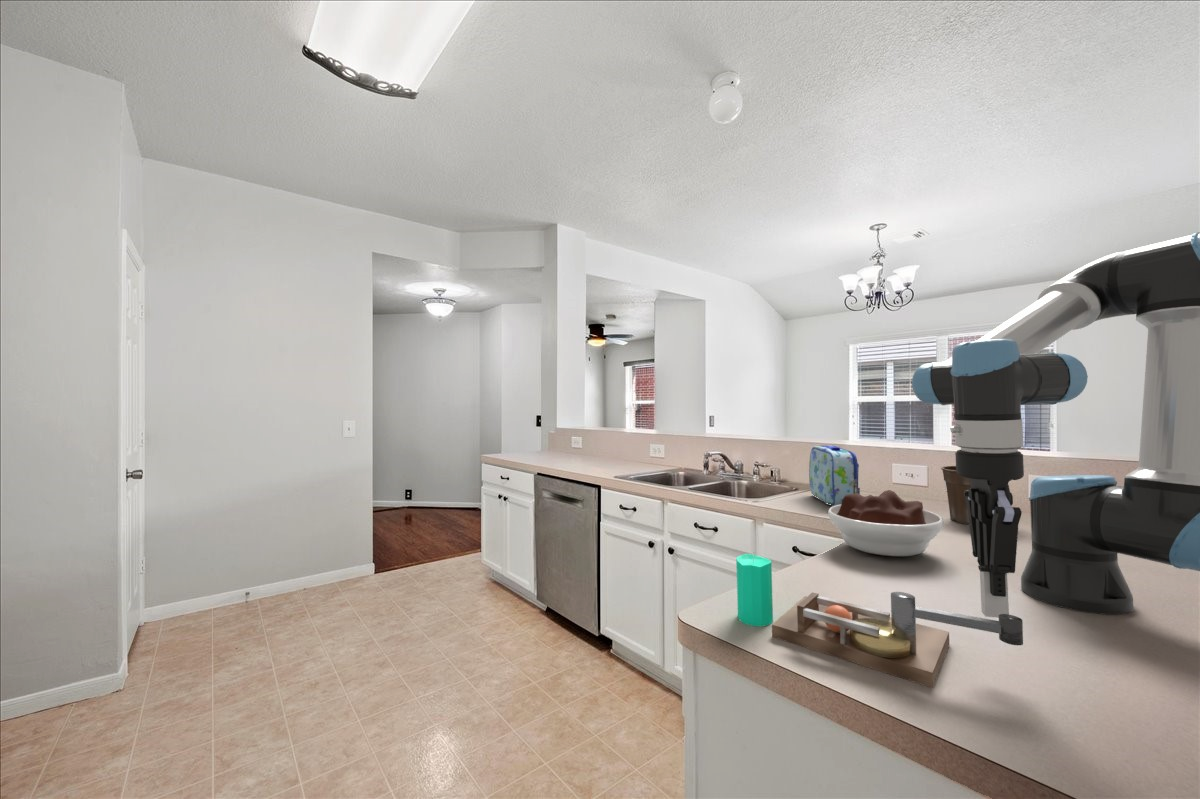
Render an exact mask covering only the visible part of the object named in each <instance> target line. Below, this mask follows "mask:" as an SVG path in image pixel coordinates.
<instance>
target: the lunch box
mask: <svg viewBox="0 0 1200 799" xmlns="http://www.w3.org/2000/svg"><path fill="white" fill-rule="evenodd" d="M808 463H809V465H808V466H809V469H808V472H809V473H808V474H809V475H808V476H809V482H808V483H809V489H810V492H811V495H812V494H813V495H814V496H816V497H818V498H819V499H818V498H817V499H818V500H820V499H821V500H823V501H824V502H825V503H824V502H823V501H822V502H823V503H824V504H826V503H828V504H831V505H834V506H835V505H840V504H842V499H843V498H844V496H845V495H849V494H854V493H858V494H860V495H861V491H860V490H861V487H859V468H860V465H859V463H858V458H857V455H856V453H855V452H853V451H851V450H847V449H846V448H845V449H844V448H843V447H839V446H836V445H827V444H826V445H814V446H812V448H811V451H810V454H809V462H808ZM813 495H812V496H813ZM814 496H813V497H814ZM816 497H815V498H816ZM821 500H820V501H821ZM828 504H827V505H828Z"/></svg>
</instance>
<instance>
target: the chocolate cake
mask: <svg viewBox="0 0 1200 799" xmlns="http://www.w3.org/2000/svg"><path fill="white" fill-rule="evenodd" d="M827 516H828V518H829V520H830V522H831V523H832V525H833V526H834V527H835V528H836V529H837V530H838V531H839V532H840V536H841V537H842V539H843V541H844V543H846V544H847V545H848V546H850V547H851V548H853V549H856V550H858V551H861V552H864V553H868V554H874V555H877V556H885V557H886V556H888V557H911V556H917V555H920V554H922V553H924V552H925V551H926V550H927V548H928V546H929V544H930V542H931V541H932V540H933V539H934V538H935V537H936V536H938V535H939V533H941V531H942V529H943V527H944V524H945V523H944V520H943V518H942V516H940V515H939V514H937V513H935V512H932V511H930V510H925V509H924V506H923V501H922V502H921V501H919V500H910V501H906V500H904V499H902V498H901V497H900V496H899V495H898V494H897V493H896V492H895V491H893V490H890V489H888V490H885V491H883V492H881V493H880V494H879V495H872V494H868V495H867V496H863V495H862V494H861V493H860V494H858V493H854V494H849V495H845V496H844V498H843V499H842V504H840V505H835V506H831V507H830V508H828V510H827Z"/></svg>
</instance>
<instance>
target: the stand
mask: <svg viewBox="0 0 1200 799" xmlns="http://www.w3.org/2000/svg"><path fill="white" fill-rule="evenodd" d="M832 605H839V606H842V607H844V608H845V609H846V610H847V611H848V612H849V613H850V615H851V618H852V620H849V619H845V618H842V617H838V616H834V615H830V614H827V613H825V610H826V609H827V608H828V607H830V606H832ZM861 618H873V619H879V620H883V621H887V622H891V613H890V612H886V611H882V610H879V609H875V608H871V607H866V606H863V605H862V606H861V605H859V604H854V603H849V602H846V601H841V600H838V599H833V598H830V597H825V596H820V595H819V593H817V592H813V591H812V592H811V593H809V594H808V595H807V596H806V595H805V596H803V597H802V598H801V599H800V600H799V601H797V602H796V603H795V604H794V605H793V606H791V607H790V609H788V610H787V611H786V612H784V614H782V615H781V616H780V617H779V618H777V619H776V620H775V621H773V622H772V623H771V637H772V638H775V639H778V640H781V641H784V642H788V643H790V644H791V643H792V644H794V645H797V646H800V647H804V648H806V649H809V650H813V651H816V652H819V653H822V654H826V655H829V656H831V657H834V658H838V659H841V660H845V661H846V662H850V663H854V664H857V665H859V666H862V667H866V668H870V669H873V670H876V671H879V672H882V673H884V674H885V673H886V674H888V675H892V676H895V677H898V678H901V679H903V680H907V681H911V682H913V683H917V684H920V685H924V686H926V687H930V688H931V689H932V688H934V687H935V683H936V681H937V678H938V676H939V673H940V671H941V668H942V666H943V663H944V660H945V657H946V656H947V652H948V649H949V647H950V631H948V630H944V629H940V628H937V627H931V626H928V625H923V624H919V623H916V651H917V652H916V653H915V654H910V655H909V656H906V657H902V658H888V657H882V656H877V655H873V654H870V653H867V652H865V651H863V650H861V649H859V648H857V647H856V646H855V645H854V644H853V643H852V642H851V640H850V629H851V630H854V631H858V632H862V633H865V634H869V635H873V636H876V637H878V636H879V635H880V627H876V626H872V625H868V624H864V623H861V622H857V621H853V620H856V619H861ZM826 623H829V624H833V625H836V626H840V633H837V632H834V631H832V630H831V629H829V628H828V626H827V625H826ZM846 628H847V629H849V630H848V631H846Z"/></svg>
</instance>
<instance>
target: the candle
mask: <svg viewBox="0 0 1200 799" xmlns="http://www.w3.org/2000/svg"><path fill="white" fill-rule="evenodd" d="M735 561H736V562H735V564H736V590H737V591H736V594H737V602H736V603H737V618H738V621H740V622H742V623H743V624H744V625H748V626H751V627H765V626H770V625H772V624H773V623H774V616H773V615H774V609H773V608H774V607H773V578H772V577H773V573H772V568H773V567H772V566H773V565H772V561H771V559H770V558H766V557H763V556H760V555H756V554H755V551H754V550H753V551H752V554H750V553H744V554H741V555H739V556H736V560H735Z"/></svg>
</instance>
